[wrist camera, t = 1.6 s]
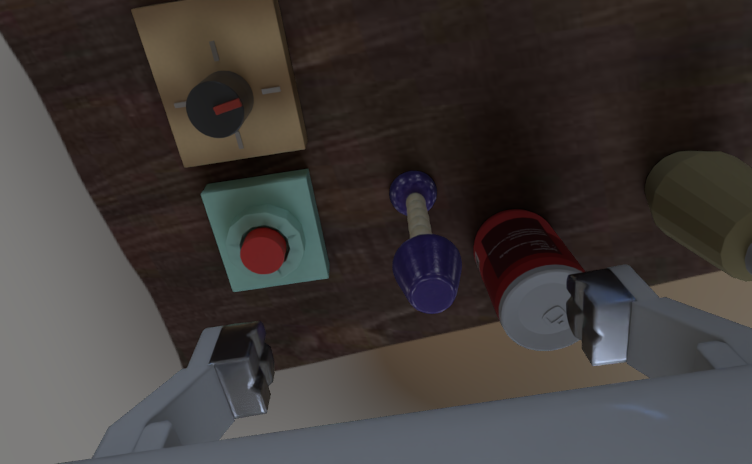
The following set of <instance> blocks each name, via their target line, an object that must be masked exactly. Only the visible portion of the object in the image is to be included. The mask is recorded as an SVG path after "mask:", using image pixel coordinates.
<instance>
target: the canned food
mask: <svg viewBox="0 0 752 464" xmlns="http://www.w3.org/2000/svg"><path fill="white" fill-rule="evenodd" d="M474 258H475V261H476V264H477V266H478V269H479V271H480V274H481V276H482V279H483V281H484V284H485V286H486V289H487V291H488V294H489V296H490V299H491V301H492V304H493V306H494V309H495V311H496V314H497V316H498V318H499V320H500V323H501V325H502V327H503V328H504V330H505V332H506V333H507V335H508V336H509V337H510V338H511V339H512V340H513V341H514V342H516V343H517V344H519V345H520V346H523V347H525V348H527V349H532V350H537V351H549V350H550V351H551V350H557V349H561V348H564V347H566V346H569V345H572V344H573V343H575V342H577V341H578V340H580V339H578V338H576V337H574V335H573V333H572V331H571V329H570V327H569V324H568V320H567V314H566V302H567V300H568V299H569V298H570V297H571V295H570V293H569V292H568V290H567V289H566V281H567V277H568V275H570V274H576V273H582V272H585V271H584V269H583V268H582V267H581V265H580V264H579V263H578V261H577V260H576V259H575V258H574V256H573V255H572V254H571V252H570V251H569V250H568V248H567V247H566V246H565V244H564V243H563V242H562V240H561V239H560V238H559V237H558V235H557V234H556V233H555V231H554V230H553V229H552V227H551V226H550V225H549V223H548V222H547V221H546V220H545V219H543V218H542V217H541V216H539V215H537V214H535V213H533V212H530V211H526V210H521V209H510V210H505V211H502V212H499V213H497V214H495V215H493V216H492V217H490V218H489V219H487V220H486V221H485V222H484V223H483V224H482V226H481V227H480V229H479V230H478V232H477V235H476V237H475V242H474Z"/></svg>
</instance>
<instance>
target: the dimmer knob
mask: <svg viewBox="0 0 752 464" xmlns="http://www.w3.org/2000/svg"><path fill="white" fill-rule="evenodd" d="M253 104H254V97H253V92H252V89H251V87H250V86H249V84H248V83H247V81H246V80H245V79H244V78H243V77H241V76H240V75H238V74H236V73H234V72H231V71H217V72H214V73H212V74H210V75H209V76H208V77H206V78H205V79H204V80H202V81H201V82H200V83H199V84H197V85H196V86H195V87H194V88H193V89H192V90H191V91H190V93H189V94H188V97H187V100H186V112H187V115H188V118H189V120H190V122H191V123H192V125H193V126H194V127H195V128H196V129H197V130H198V131H199V132H201V133H202V134H204V135H206V136H209V137H213V138H225V137H229V136H231V135H233V134H234V133H236V132H237V131H238V130H239V129H240V127H241V126H242V124H243V123H244V121H245V120H246V118H247V117H248V115H249V114H250V112H251V110H252V108H253Z"/></svg>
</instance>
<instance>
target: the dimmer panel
mask: <svg viewBox="0 0 752 464" xmlns="http://www.w3.org/2000/svg"><path fill="white" fill-rule="evenodd" d="M131 11H132V14H133V17H134V20H135V23H136V26H137V29H138V32H139V35H140V38H141V41H142V44H143V47H144V50H145V53H146V56H147V58H148V61H149V64H150V67H151V70H152V73H153V76H154V79H155V82H156V85H157V88H158V91H159V94H160V97H161V100H162V103H163V106H164V109H165V112H166V114H167V117H168V120H169V123H170V126H171V129H172V132H173V135H174V138H175V141H176V144H177V147H178V150H179V153H180V156H181V159H182V162H183V165H184V167H185V168H186V167H193V166H199V165H206V164H212V163H219V162H225V161H232V160H238V159H244V158H251V157H257V156H264V155H270V154H277V153H283V152H290V151H296V150H303V149H305V148H306V144H307V140H308V138H307V133H306V129H305V124H304V119H303V115H302V110H301V105H300V101H299V96H298V92H297V87H296V82H295V78H294V73H293V68H292V64H291V59H290V54H289V50H288V45H287V41H286V36H285V31H284V27H283V22H282V17H281V13H280V8H279V3H278V0H180V1H174V2H168V3H162V4H156V5H150V6H144V7H139V8H134V9H131ZM217 71H231V72H234V73H236V74H238V75H240V76H241V77H243V78H244V79H245V80H246V81H247V83H248V84H249V86H250V87H251V89H252V92H253V97H254V104H253V108H252V110H251V112H250V114H249V115H248V117H247V118H246V120H245V121H244V123H243V124H242V126H241V127H240V129H239V130H238V131H237V132H236V133H234V134H233V135H231V136H229V137H225V138H213V137H209V136H206V135H204V134H202V133H201V132H199V131H198V130H197V129H196V128H195V127H194V126H193V125H192V123H191V122H190V120H189V118H188V115H187V112H186V100H187V97H188V94H189V93H190V91H191V90H192V89H193V88H194V87H195V86H196V85H197V84H199V83H200V82H201V81H202V80H204V79H205V78H206V77H208V76H209V75H210V74H212V73H214V72H217Z"/></svg>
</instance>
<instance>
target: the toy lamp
mask: <svg viewBox="0 0 752 464" xmlns="http://www.w3.org/2000/svg"><path fill="white" fill-rule="evenodd" d="M389 195H390V200H391V203H392V204H393V206H394V207H395V208H396V209H397V210H398V211H399V212H400V213H402V214H404V215H407V216H408V219H407V220H408V225H409V227H408V229H409V233H410V239H409V240H407V241H405V242H404V243H403V244H402V245H401V246H400V247H399V248H398V250H397V252H396V254H395V256H394V259H393V273H394V276H395V279H396V281H397V283H398V284H399V286H400V288H401V289H402V291H403V293H404V294H405V296H406V298H407V299H408V301H409V302H410V303H411V305H412V306H413V307H414V308H416V309H417V310H419V311H421V312H423V313H428V314H434V313H439V312H442V311H444V310H446V309H447V308H448V307H450V306H451V304H452V303H453V301H454V300H455V297H456V294H457V290H458V285H459V281H460V275H461V269H462V261H461V256H460V253H459V251H458V249H457V248H456V247H455V245H454V244H453V243H452V242H451V241H449V240H448V239H446V238H444V237H442V236H439V235H435V234H432V232H431V226H430V223H429V216H428V214H427V213H428V211H429V210H430V209H431V207H432V206H433V205H434V202H435V200H436V196H437V189H436V185H435V183H434V181H433V180H432V178H430V177H429V176H428V175H427V174H425V173H423V172H420V171H408V172H405V173H403V174H401V175H399V176H398V177H397V178H396V179H395V180H394V181H393V183H392V184H391V187H390V193H389Z"/></svg>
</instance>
